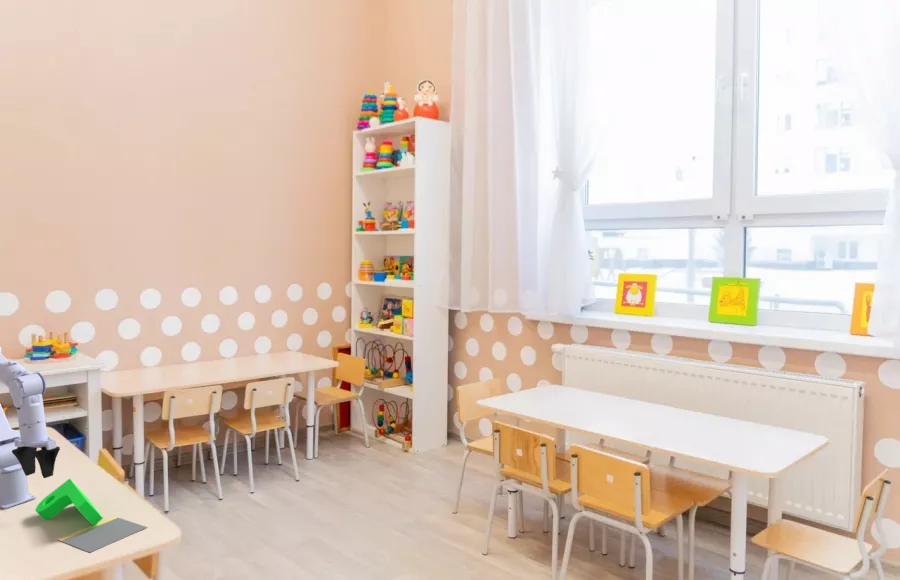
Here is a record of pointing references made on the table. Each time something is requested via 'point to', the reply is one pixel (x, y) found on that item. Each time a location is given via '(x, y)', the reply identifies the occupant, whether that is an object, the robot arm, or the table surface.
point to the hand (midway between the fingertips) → (39, 475)
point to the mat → (101, 534)
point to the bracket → (68, 503)
